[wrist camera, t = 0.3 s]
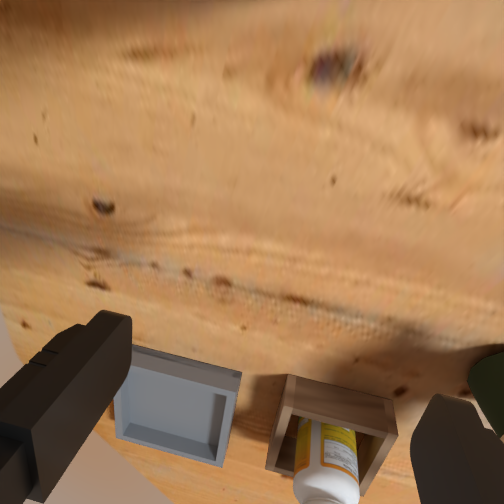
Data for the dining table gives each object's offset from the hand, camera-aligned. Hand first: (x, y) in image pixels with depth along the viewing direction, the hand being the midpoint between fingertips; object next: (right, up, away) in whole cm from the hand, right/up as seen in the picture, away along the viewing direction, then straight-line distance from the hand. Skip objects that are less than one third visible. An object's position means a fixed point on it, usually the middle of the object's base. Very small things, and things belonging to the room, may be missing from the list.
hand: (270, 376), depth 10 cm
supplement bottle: (+7, -13, +26) cm, 30 cm away
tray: (-8, -12, +29) cm, 32 cm away
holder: (+7, -13, +26) cm, 30 cm away
